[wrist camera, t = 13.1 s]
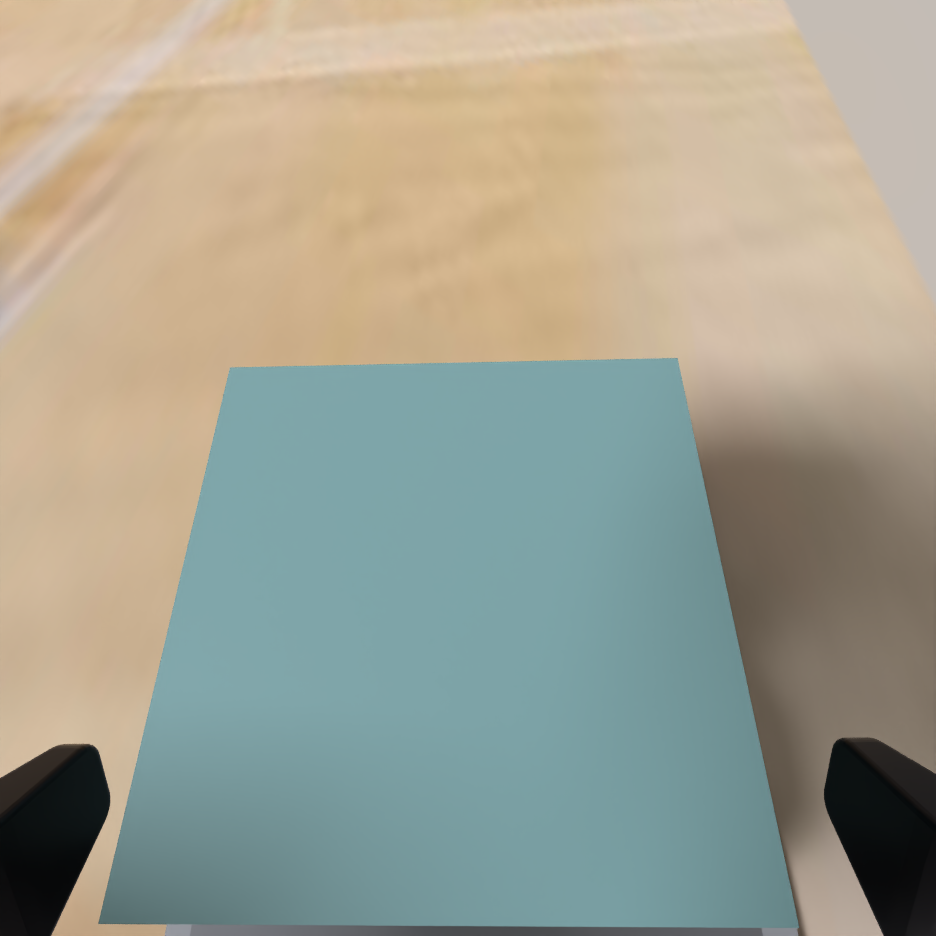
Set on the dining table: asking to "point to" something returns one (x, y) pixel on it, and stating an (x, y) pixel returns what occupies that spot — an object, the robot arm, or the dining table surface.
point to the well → (461, 931)
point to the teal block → (452, 665)
